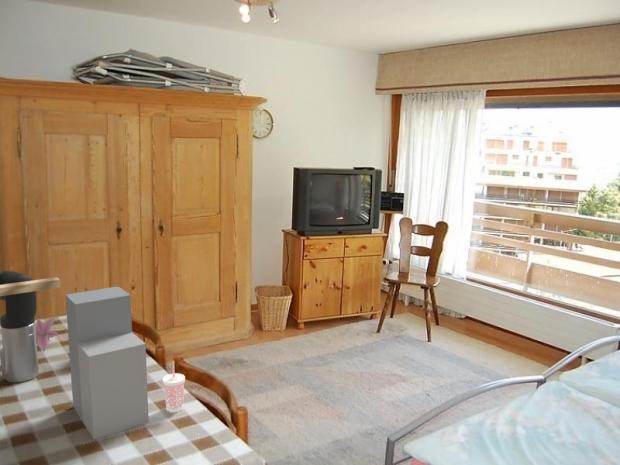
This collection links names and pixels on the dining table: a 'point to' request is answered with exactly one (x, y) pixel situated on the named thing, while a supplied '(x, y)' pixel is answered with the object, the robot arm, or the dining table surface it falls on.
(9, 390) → the dining table surface
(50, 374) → the dining table surface
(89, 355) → the stepped stand
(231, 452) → the dining table surface
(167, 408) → the beverage cup
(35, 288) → the maple bar
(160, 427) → the dining table surface
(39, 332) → the lily
